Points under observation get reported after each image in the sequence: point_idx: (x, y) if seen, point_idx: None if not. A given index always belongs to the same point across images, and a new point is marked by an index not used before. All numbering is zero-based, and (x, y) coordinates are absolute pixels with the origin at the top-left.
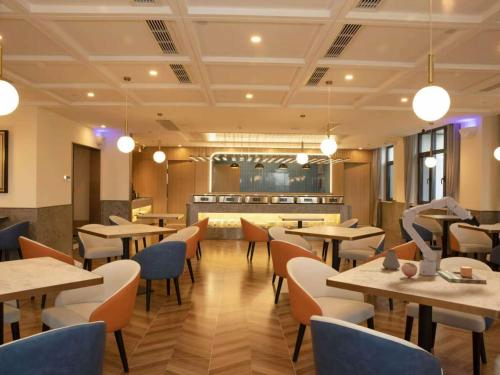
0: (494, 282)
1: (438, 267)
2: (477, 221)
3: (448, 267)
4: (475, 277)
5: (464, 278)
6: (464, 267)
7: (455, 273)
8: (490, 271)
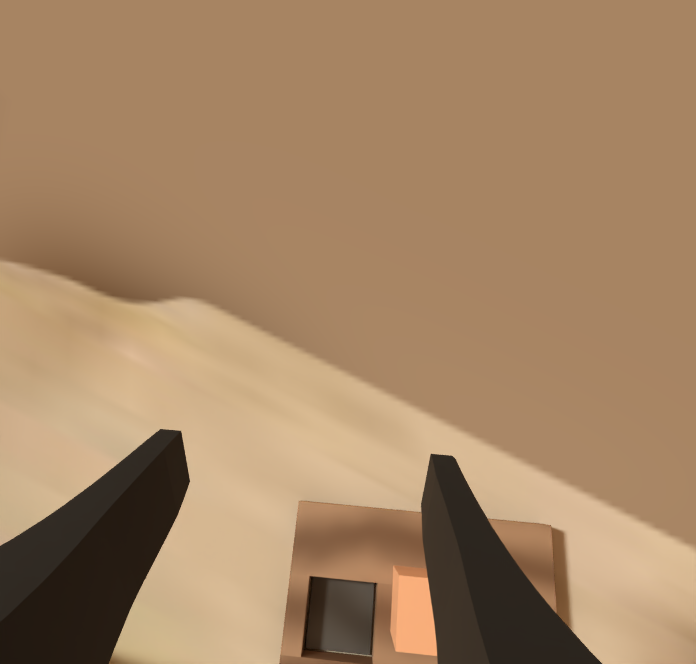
0: (488, 450)
1: None
2: (495, 545)
3: None
4: None
5: None
6: None
7: (305, 624)
8: (168, 311)
